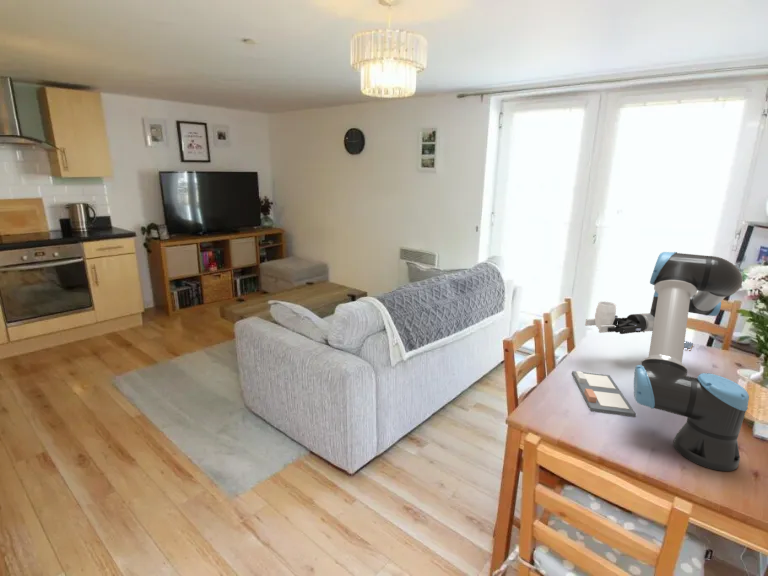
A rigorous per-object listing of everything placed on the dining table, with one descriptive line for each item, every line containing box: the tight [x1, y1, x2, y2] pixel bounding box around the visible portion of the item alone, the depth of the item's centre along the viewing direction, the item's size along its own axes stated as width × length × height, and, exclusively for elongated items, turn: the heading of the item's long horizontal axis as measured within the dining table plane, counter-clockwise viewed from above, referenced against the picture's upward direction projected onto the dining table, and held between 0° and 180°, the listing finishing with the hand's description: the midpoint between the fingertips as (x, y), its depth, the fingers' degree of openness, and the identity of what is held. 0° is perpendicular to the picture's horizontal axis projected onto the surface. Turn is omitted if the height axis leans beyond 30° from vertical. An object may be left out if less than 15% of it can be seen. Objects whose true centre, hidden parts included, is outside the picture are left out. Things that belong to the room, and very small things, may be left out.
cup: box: [594, 300, 617, 330], centre depth 167 cm, size 7×7×21 cm
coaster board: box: [571, 370, 637, 418], centre depth 151 cm, size 28×14×3 cm, turn 168°
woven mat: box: [684, 340, 694, 350], centre depth 198 cm, size 10×11×2 cm
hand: (592, 325), depth 165 cm, fingers closed on cup, 7 cm apart
